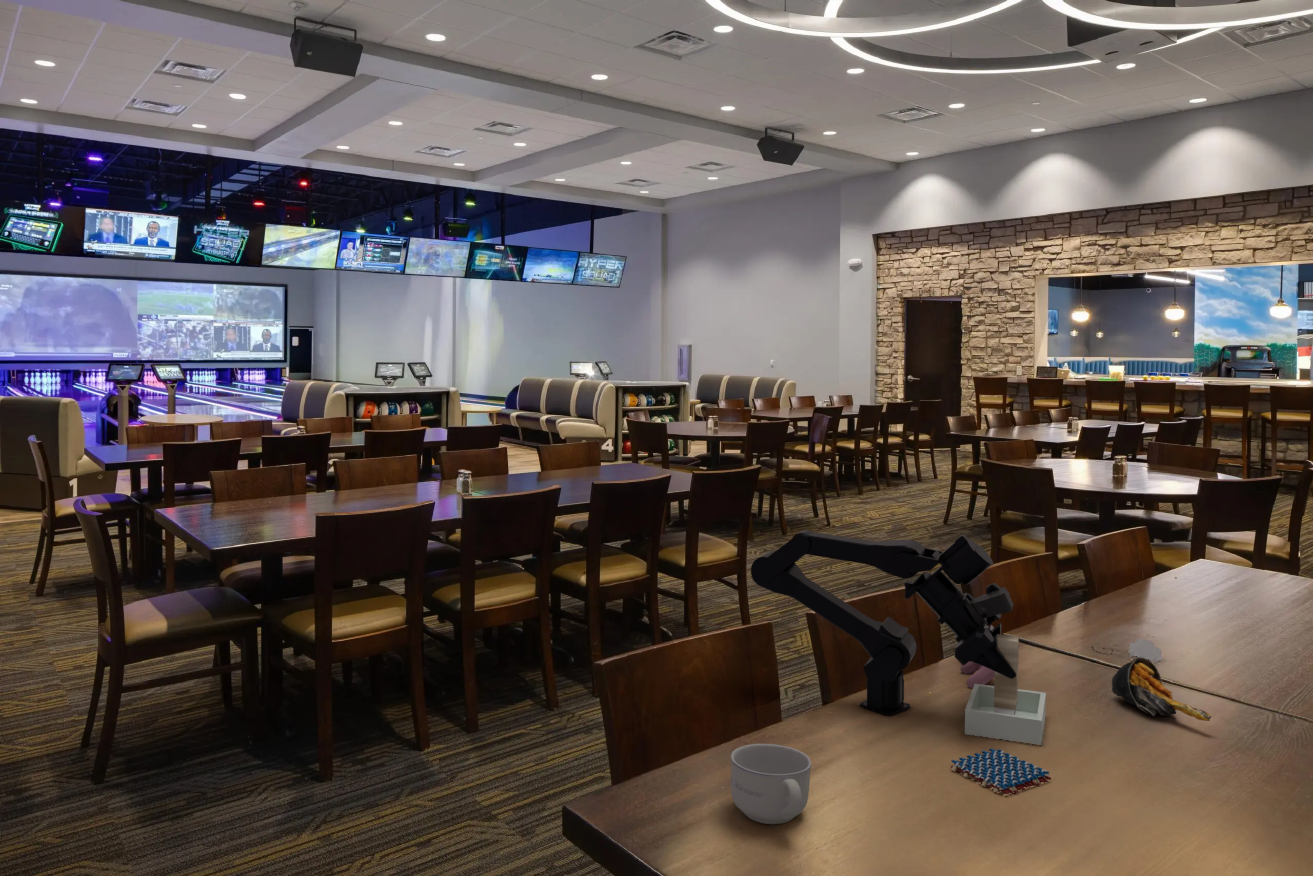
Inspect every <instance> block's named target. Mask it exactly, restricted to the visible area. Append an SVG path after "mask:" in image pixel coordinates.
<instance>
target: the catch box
mask: <svg viewBox="0 0 1313 876" xmlns="http://www.w3.org/2000/svg"><path fill="white" fill-rule="evenodd" d="M1046 700H1047V693H1046V692H1043V691H1034V690H1029V689H1028V690H1026V689H1019V688H1018V694H1017V708H1016V713H1015V715H1011V714H1004V713H996V712H994V709H995V707H994V685H989V684H988V685H987V684H986V685H981V684H974V687H973V688H972V691H971V693H970V694H969V698H968V701H967V704H966V706H965V709H964V735H968V736H973V735H974V736H975V737H980V736H982V737H981V738H986V737H988V738H987V739H993V738H995V739H994V740H999V739H1003V740H1002V741H1006V740H1010V741H1009V742H1013V741H1019V742H1026V743H1033V744H1040V745H1043V744H1042V743H1043V738H1044V731H1043V730H1044V729H1045V722H1046V709H1047V708H1046V703H1047V701H1046ZM974 736H973V737H974ZM1019 742H1018V743H1019ZM1026 743H1025V744H1026Z"/></svg>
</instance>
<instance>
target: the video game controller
mask: <svg viewBox="0 0 1313 876" xmlns="http://www.w3.org/2000/svg"><path fill="white" fill-rule="evenodd" d="M960 665H961V666H960V671H961V673H962V674H965V675H968V674H971V675H970V676H969V677H968V678H967V680H966V686H967V687H968V688H969V689H973V687H974V684H981V685H987V684H988V682H990V681H992V680H993V679H995V671H993V670H991V669H989V668H986V667H984V666H982V665H979V664H977V663H974V662H970V661H969V662H968V663H967V664H965V665H962V664H960Z"/></svg>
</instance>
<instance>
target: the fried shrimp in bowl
mask: <svg viewBox="0 0 1313 876" xmlns="http://www.w3.org/2000/svg"><path fill="white" fill-rule="evenodd" d="M1111 690H1112V691H1111V692H1112V693H1113V694H1115V696H1118V697H1121V698H1122V699H1123V700H1124V701H1125V702H1127V703H1129V704H1131V705H1133V706H1136V707H1137V708H1138V709H1140V710H1141V711H1143V712H1144V713H1146V714H1147V715H1150V716H1152V717H1155V716H1156V714H1158V715H1160V716H1166V717H1167V716H1172V715H1177V711H1179V712H1182V713H1183V714H1185V715H1187V716H1190V717H1192V718H1193V717H1194V719H1196V720H1198V721H1205V722H1210V720H1211V718H1212V715H1211V714H1209V713H1208V712H1206V711H1205V710H1203V709H1198V708H1197V707H1196V708H1195V707H1193V706H1191V705H1188V704H1186V703H1184V702H1183V703H1182V702H1179V701H1178V700H1174V699H1173V691H1171V690H1170V689H1168V688H1166V687H1165V686H1164V684H1163V681H1162V677H1161V675H1160V673H1159V670H1158V668H1157V667H1156V666H1155V664H1154V663H1153V662H1151V660H1148V659H1145V658H1141V657H1135V658H1134V659H1132V661H1130V662H1127V663H1126V664H1124V665H1122V666H1121V667H1120V668H1119V669H1118V670H1117V672H1116V673H1115V674H1114V675H1113V676H1112V678H1111Z"/></svg>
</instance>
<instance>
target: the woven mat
mask: <svg viewBox="0 0 1313 876" xmlns="http://www.w3.org/2000/svg"><path fill="white" fill-rule="evenodd" d="M988 750H989V751H986V750H982V751H981V753H982V754H981V753H977V752H975V753H974V756H973V755H966V757H959V758H958V759H959V760H955V759H951V761H950V762H951V763H953V764H954V765H953V764H952V765H950V770H951V772H954V773H959V775H960V774H961V775H960V776H963V777H964V778H965V779H969V777H970V778H971V779H970V780H971V781H972V780H976V782H975V781H974V784H975V783H977V784H979V783H980V782H981V783H982V784H979V785H982V786H981V787H983V786H984V788H991V787H993V788H994V789H993V790H992V792H994V793H995V792H1000V791H1001V793H1002V794H1009V793H1012V794H1013V792H1014V794H1017V793H1019V792H1018V790H1021V789H1022V790H1024V791H1026V790H1025V788H1024V787H1026V788H1027V787H1031V786H1035V785H1038V786H1037V787H1039V786H1041V785H1042V784H1041V783H1042V782H1047V783H1049V782H1048V781H1049V780H1051V781H1052V777H1051V776H1049V774H1050V772H1049V771H1047V770H1046V769H1043V768H1041V767H1039V766H1037V765H1035V764H1034V763H1030V762H1027V761H1026V760H1023V759H1021V758H1018V757H1017V756H1016V755H1015V756H1013V754H1009V753H1008V752H1005V751H1004V750H1002V749H996V748H995V749H993V748H989V749H988ZM977 784H976V785H977ZM993 784H994V785H993ZM1040 784H1041V785H1040ZM985 786H987V787H985ZM1035 787H1036V786H1035Z"/></svg>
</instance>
